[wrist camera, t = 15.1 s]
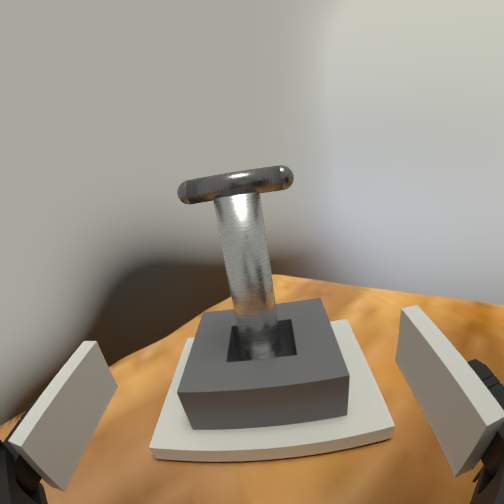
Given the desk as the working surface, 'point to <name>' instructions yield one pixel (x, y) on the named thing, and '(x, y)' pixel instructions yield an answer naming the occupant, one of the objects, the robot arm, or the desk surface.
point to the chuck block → (271, 393)
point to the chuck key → (245, 249)
